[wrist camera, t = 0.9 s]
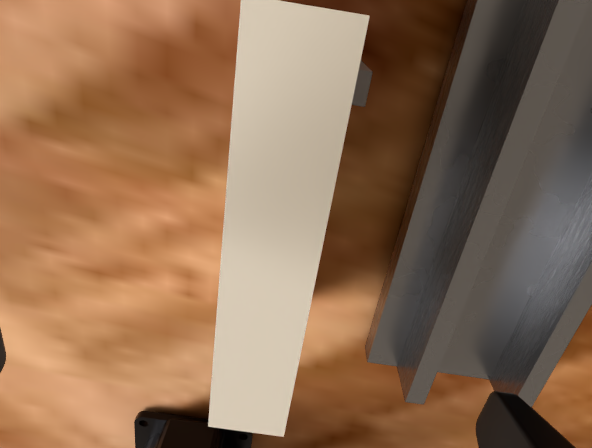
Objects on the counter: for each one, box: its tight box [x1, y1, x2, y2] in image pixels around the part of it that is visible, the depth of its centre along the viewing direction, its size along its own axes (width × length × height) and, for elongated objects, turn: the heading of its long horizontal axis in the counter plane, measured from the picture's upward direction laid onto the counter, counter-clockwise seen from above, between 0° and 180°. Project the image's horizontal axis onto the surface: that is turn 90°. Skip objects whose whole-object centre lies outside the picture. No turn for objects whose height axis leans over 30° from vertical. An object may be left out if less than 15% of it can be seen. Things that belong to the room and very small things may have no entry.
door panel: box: [208, 0, 373, 437], centre depth 14 cm, size 12×3×7 cm, turn 171°
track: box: [365, 0, 592, 407], centre depth 15 cm, size 20×8×3 cm, turn 171°
